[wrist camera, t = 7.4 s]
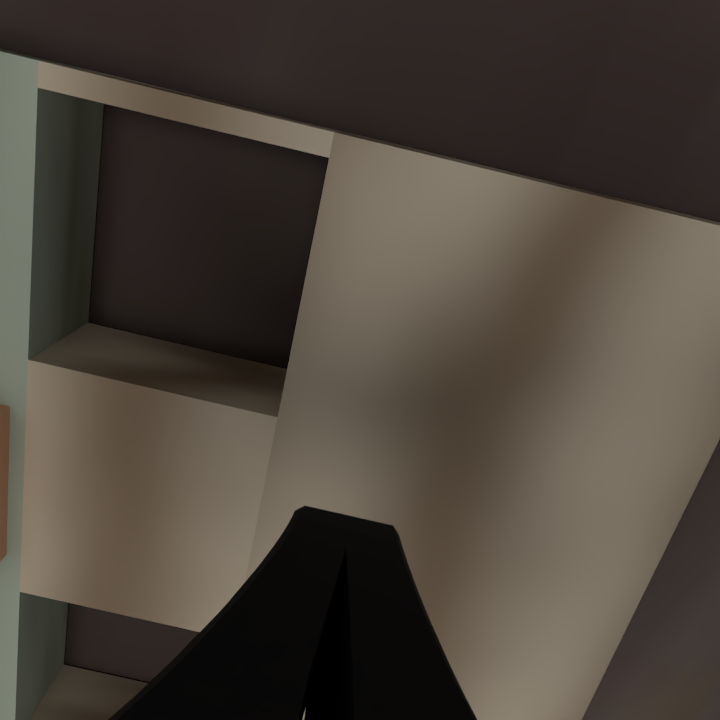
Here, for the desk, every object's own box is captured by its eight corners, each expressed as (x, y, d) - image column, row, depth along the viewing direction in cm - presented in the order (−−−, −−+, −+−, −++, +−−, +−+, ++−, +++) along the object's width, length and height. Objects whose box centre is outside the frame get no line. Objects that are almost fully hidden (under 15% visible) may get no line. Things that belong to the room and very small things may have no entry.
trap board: (737, 226, 15) (865, 263, 11) (497, 770, 22) (520, 918, 18) (-139, 14, 15) (-351, -32, 11) (-104, 638, 22) (-223, 758, 18)
